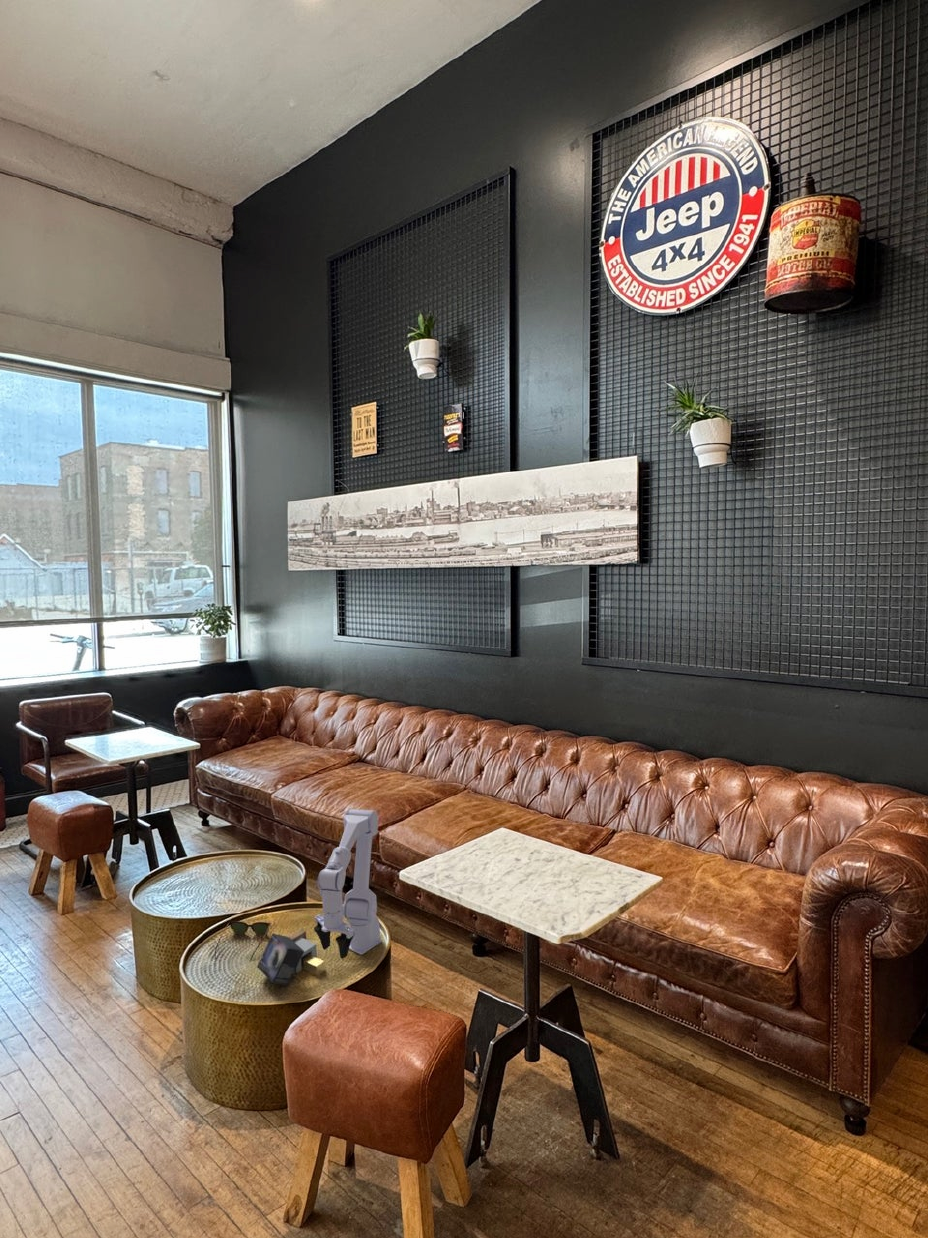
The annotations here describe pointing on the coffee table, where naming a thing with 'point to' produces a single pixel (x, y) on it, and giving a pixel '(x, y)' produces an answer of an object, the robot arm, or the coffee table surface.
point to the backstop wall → (298, 935)
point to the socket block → (305, 950)
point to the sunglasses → (243, 927)
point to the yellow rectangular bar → (312, 964)
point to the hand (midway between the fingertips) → (335, 952)
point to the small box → (280, 959)
